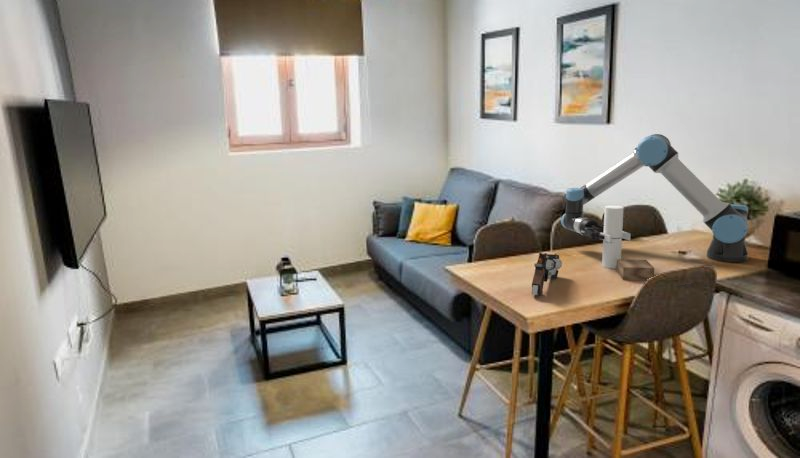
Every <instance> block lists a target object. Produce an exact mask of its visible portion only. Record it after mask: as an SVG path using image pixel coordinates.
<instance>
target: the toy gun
mask: <svg viewBox="0 0 800 458" xmlns="http://www.w3.org/2000/svg"><path fill="white" fill-rule="evenodd" d="M562 265H563V261H562V260H561V259H560V255H559V254H556V253H554V254H553V253H551V254H549V253H542V252H539V253H538V259H537V262H536V263H534V267H535V269H534V274H533V278H532V282H531V288H532V289H531V290H532V291H531V295H533V296H542V295H543V294H544V290H543V289H544V286H545V285H544V284H545V282H548V280H552V279H558V276H559V275H558V274H559V270H560V269H561V268H562Z"/></svg>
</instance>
